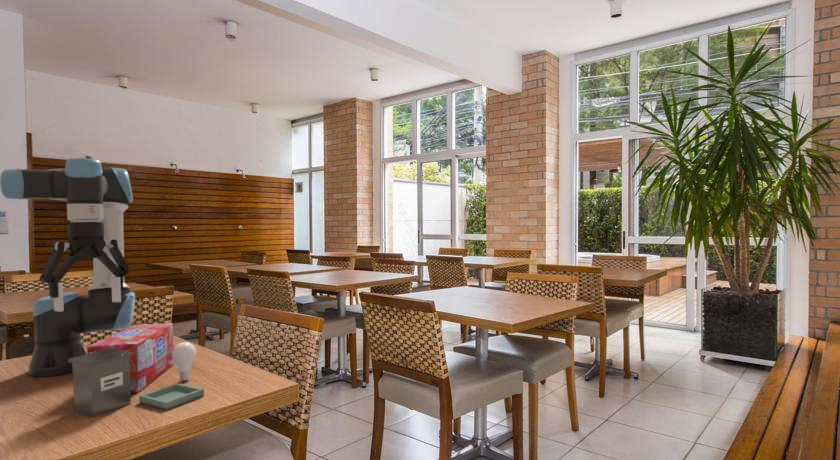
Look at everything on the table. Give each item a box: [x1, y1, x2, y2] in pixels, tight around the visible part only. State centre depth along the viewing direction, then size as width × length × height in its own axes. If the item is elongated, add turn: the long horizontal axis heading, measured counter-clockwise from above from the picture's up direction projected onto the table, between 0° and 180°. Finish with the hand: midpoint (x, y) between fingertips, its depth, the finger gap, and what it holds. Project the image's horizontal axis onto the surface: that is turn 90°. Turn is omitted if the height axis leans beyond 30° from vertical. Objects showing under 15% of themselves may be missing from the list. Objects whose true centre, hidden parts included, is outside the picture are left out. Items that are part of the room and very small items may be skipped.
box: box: [86, 322, 175, 394], centre depth 144 cm, size 27×13×14 cm, turn 7°
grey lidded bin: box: [68, 349, 133, 417], centre depth 123 cm, size 9×10×13 cm
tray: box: [138, 382, 205, 411], centre depth 127 cm, size 11×11×2 cm
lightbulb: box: [172, 341, 197, 382], centre depth 142 cm, size 6×6×11 cm
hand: (89, 306), depth 125 cm, fingers open, 13 cm apart
